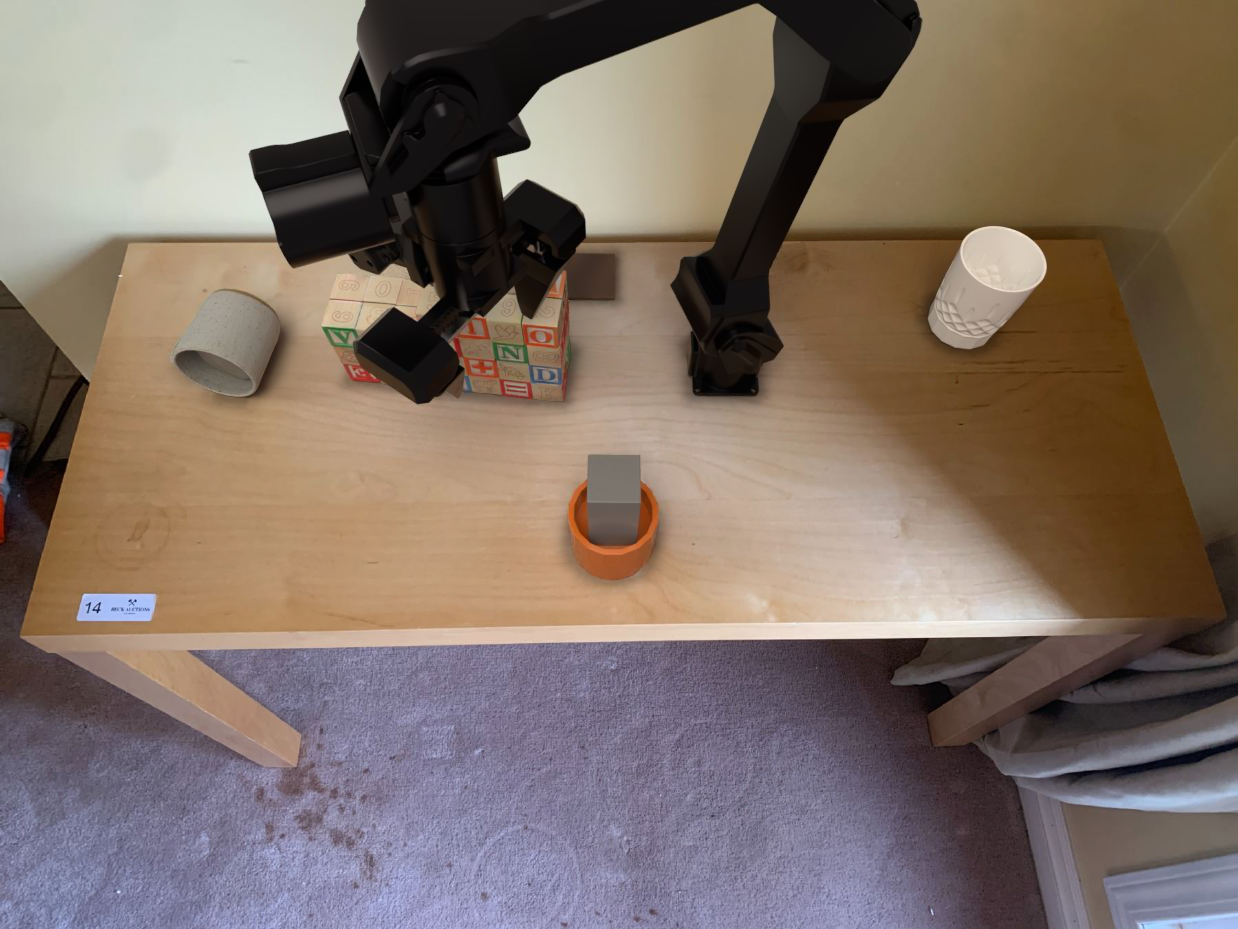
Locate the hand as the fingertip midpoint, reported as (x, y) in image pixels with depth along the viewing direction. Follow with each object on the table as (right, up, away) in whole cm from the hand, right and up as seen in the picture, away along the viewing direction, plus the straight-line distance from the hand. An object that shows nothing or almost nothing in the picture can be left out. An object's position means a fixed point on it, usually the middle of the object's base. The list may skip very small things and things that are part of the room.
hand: (492, 353), depth 62 cm
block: (+10, -14, +4) cm, 17 cm away
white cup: (+46, +6, +19) cm, 50 cm away
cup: (+10, -16, +8) cm, 20 cm away
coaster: (+7, +11, +21) cm, 25 cm away
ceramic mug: (-28, +1, +16) cm, 33 cm away
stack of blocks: (-6, +1, +16) cm, 17 cm away
